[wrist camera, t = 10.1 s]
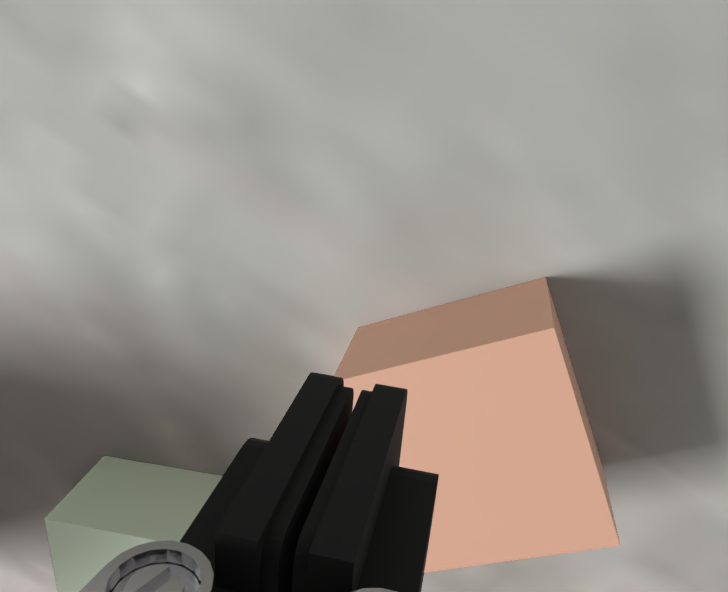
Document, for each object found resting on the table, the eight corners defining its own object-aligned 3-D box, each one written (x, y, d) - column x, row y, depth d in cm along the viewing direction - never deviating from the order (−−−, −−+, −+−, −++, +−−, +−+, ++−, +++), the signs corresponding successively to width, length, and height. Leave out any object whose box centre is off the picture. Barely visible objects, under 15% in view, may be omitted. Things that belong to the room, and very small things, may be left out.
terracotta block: (359, 325, 28) (330, 382, 23) (545, 274, 25) (553, 327, 21) (426, 493, 30) (412, 574, 26) (601, 462, 28) (620, 545, 23)
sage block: (106, 453, 34) (44, 518, 29) (253, 478, 32) (211, 551, 28) (123, 583, 37) (70, 660, 32) (257, 610, 36) (220, 695, 31)
